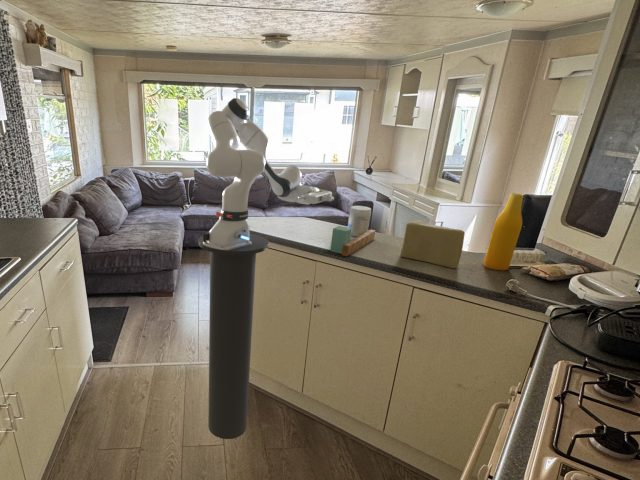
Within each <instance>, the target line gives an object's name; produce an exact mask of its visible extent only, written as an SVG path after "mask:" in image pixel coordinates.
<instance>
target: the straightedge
mask: <svg viewBox="0 0 640 480" xmlns="http://www.w3.org/2000/svg"><path fill="white" fill-rule="evenodd" d="M375 235H376V230H374V229H368V231H367V232H365V233H363V234H362V235H360V236H358V237H356V238H354V239H353V240H351V239H350V241H349V242H347V243H346V244H344V245H343V248H342V254H341V256H342V257H343V256H344V257H348V256H350V255H351V254H353V253H354V252H357V251H359V250H360V249H361V248H362V247H364V246H366V245H368V244H369V243H370V242H372V241H374V240H375Z"/></svg>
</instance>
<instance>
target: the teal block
mask: <svg viewBox="0 0 640 480" xmlns="http://www.w3.org/2000/svg"><path fill="white" fill-rule="evenodd" d="M347 227H348V226H340V225H338V226H335V227H334V228H332V235H331V241H330V248H329V251H330V252H332V253H336V254H341V255H342V248H343V245H344V244H346V243H347V242H349V241H351V239H350V237H351V230H352V228H347Z"/></svg>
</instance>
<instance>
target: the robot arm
mask: <svg viewBox="0 0 640 480" xmlns="http://www.w3.org/2000/svg"><path fill="white" fill-rule="evenodd" d="M207 129H208V132H209V136H210V138H211V140H212V141H211V142H212V144H213V146H214V149H213V150H211V152H209V154H208V155H207V157H206V162H205V166H206V170H207V172H208V173H209V175H211V176H212V177H217V178H223V179H224V178H234V180H233V181H232V183H230V184H229V185H228V186H226V187H225V188H224V190H223V191H222V195H221V196H222V199H221V209H220V211H216V212H215V216H216V217H218V218H219V219H218V220H217V221H216V222H215V224H214V225H213V226H212V228H211V229H210V230H208V231H206V232H204V233H202V236H203V241H204V242H203V245H205V246H207V247H210V248H214V249H219V250H232V249H236V248H240V247H244V246H248V245H251V244H252V242H251V241H250V233H251V232H250V224H249V222H248V218H249V209H248V203H249V194H250V190H251V188H252V185H253V184H254V182H255V180H256V179H257V178H258V177H260V176H262V177H263V178H264V180H265V181H266V182H267V184H268V185H269V187H270V189H271V191H272V193H273V194H274V195H275V196H276V197H277V198H278V199H279V200H281V201H284V202H289V203H297V204H302V205H306V206H307V205H311V204H312V205H315V204H319V203H322V202H333V201H334V200H335V196H333V192H332V191H330V190H327V189H322V188H318V186H310V185H304V184H303V185H302V180H303V174H302V171H301V169H300V168H299V167H297V166H295V165H287V166H286V167H285V168H284V169H283V170H282V171H281V172H280V173H279V174H278V173H277V171H275V169H274V168H273V166H272V165H271V164H270V163H269V161H268V157H267V155H268V151H269V148H270V139H269V137H268V135H267V134H266V133H265V132H264V131H263V130H262V129H261V128H260V127H259V126H258V125H257V124H256V123H255V122H254V121H252V120H251V117H250V109H249V107H248V105H247V104H246V103H245V102H244V101H243V100H242V99H240V98H238V97H233V98H231V100H229V101H228V102H227V104H226V105H225V106H224V107H223V109H222V110H215V111H214V112H211V114H210V115H209V116H208V118H207ZM240 143H241V144H242V146H244V148H245V149H238V148H239V147H240ZM206 240H207V241H206Z"/></svg>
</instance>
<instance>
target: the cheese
mask: <svg viewBox="0 0 640 480" xmlns="http://www.w3.org/2000/svg"><path fill="white" fill-rule="evenodd" d="M465 234H466V233H465V231H464V230H462V229H459V228H452V227H446V226H441V225H436V224H431V223H429V222H425V221H422V220H419V219H417V220H412V221H409V222H407V223H406V225H405V231H404V235H403V240H402V244H401V245H402V247H401V252H400V257H401V258H405V259H410V260H411V259H412V260H415V261H420V262H425V263H428V264H433V265H437V266H441V267H446V268H449V269H450V268H451V269H458V268H459V264H460V261H461V257H462V252H463V248H464V240H465Z"/></svg>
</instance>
